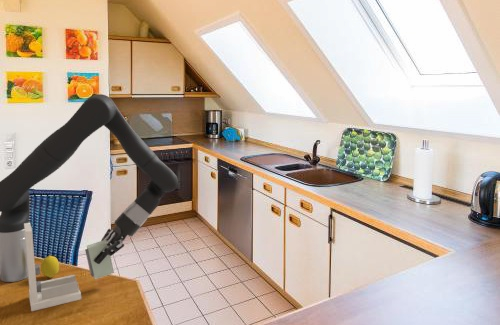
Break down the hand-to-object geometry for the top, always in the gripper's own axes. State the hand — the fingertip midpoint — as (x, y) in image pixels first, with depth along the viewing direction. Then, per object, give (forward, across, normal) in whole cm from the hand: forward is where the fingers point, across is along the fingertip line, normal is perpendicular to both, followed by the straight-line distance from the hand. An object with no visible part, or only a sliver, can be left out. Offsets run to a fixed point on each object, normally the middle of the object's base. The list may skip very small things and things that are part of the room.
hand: (95, 260), depth 126 cm
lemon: (+15, -15, -1) cm, 22 cm away
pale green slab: (+2, 0, +6) cm, 6 cm away
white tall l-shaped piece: (+15, 0, -2) cm, 16 cm away
